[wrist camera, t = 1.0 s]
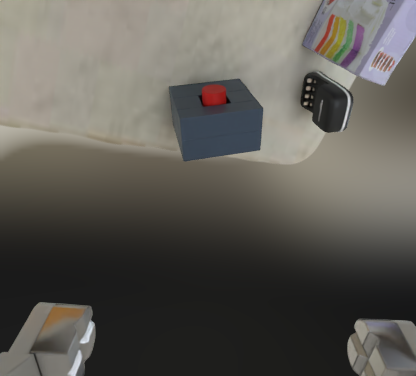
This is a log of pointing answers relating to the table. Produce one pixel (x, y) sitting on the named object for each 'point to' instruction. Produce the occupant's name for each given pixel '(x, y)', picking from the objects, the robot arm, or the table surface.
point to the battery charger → (326, 102)
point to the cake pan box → (363, 35)
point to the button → (213, 95)
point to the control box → (216, 121)
